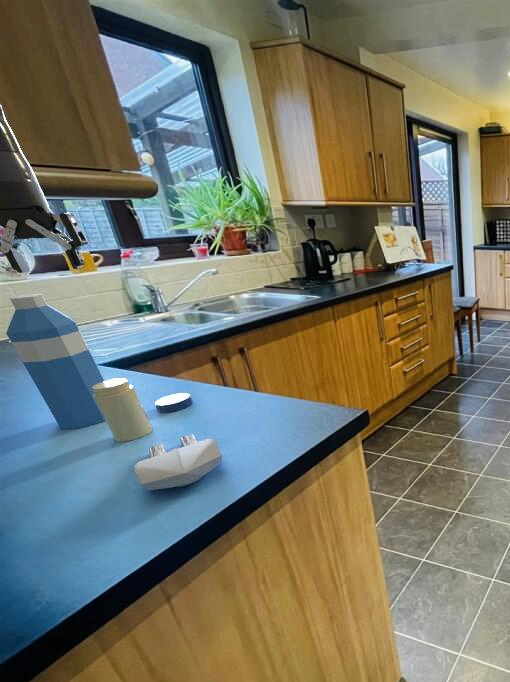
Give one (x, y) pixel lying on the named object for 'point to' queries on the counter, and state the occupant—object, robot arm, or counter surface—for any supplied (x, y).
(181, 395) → the lid
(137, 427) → the jar
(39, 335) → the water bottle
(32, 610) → the counter surface
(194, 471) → the white elongated knobbed piece
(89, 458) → the counter surface
